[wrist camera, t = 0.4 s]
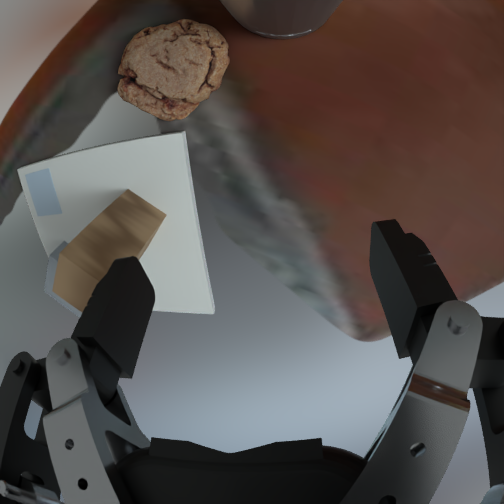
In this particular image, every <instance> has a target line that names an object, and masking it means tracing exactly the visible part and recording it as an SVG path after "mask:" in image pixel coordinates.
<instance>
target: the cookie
mask: <svg viewBox="0 0 504 504" xmlns="http://www.w3.org/2000/svg"><path fill="white" fill-rule="evenodd" d="M227 53H228V43H227V42H226V40H225V38H224V37H223V36H222V35H221V34H220V33H219V32H218V31H217V30H216V29H215V28H214V27H212V26H210V25H208V24H202V23H198V22H195V21H193V20H189V19H181V20H178V21H176V22H173V23H170V24H167V25H165V24H162V25H159V26H157V27H148V28H145V29H143V30H141V31H140V32H139V33H137V34H136V35H135V36H134V37H133V38H132V40H131V41H130V42H129V43H128V45H127V46H126V48H125V50H124V54H123V56H122V60H121V64H120V66H119V69H118V74H121V75H123V76H124V78H122V79H120V82H119V85H118V94H119V95H120V97H121V98H122V99H123V100H124V101H126V102H129V103H131V104H133V105H135V106H136V107H138V108H139V109H141V110H143V111H145V112H147V113H150V114H153V115H154V116H155V117H158V118H159V119H162V120H166V121H173V120H175V119H179V120H180V119H183V118H185V117H187V116H188V115H189V114H190V113H191V112H192V111H193V110H194V109H195V108H196V107H197V106H198V105H199V102H201V101H203V100H205V99H208V98H209V95H210V94H211V93H212V92H213V91H215V90H217V89H218V88H219V87H220V85H221V83H222V77H223V75H224V72H225V70H226V68H227V66H228V64H229V63H230V59H229V56H228V54H227Z"/></svg>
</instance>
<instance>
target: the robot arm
mask: <svg viewBox="0 0 504 504" xmlns="http://www.w3.org/2000/svg"><path fill="white" fill-rule="evenodd" d="M219 1H220V2H221V3H222V4H223V5H224V6H225V8H226V9H227V10H228V11H229V12H230V14H231V15H232V16H233V17H234V18H235V19H236V20H237V21H238V22H239V23H240V24H241V25H242V26H243V27H245V28H246V29H248V30H249V31H251V32H253V33H255V34H258V35H260V36H264V37H268V38H272V39H292V38H298V37H301V36H305V35H307V34H309V33H311V32H313V31H316V30H317V29H318V28H319V27H321V26H322V25H323V24H324V23H325V22H326V20H327V19H328V18H329V17H330V15H331V14H332V13H333V12H334V11H335V10H336V8H337V7H338V6H339V4H340V3H341V2H342V1H343V0H219ZM369 261H370V271H371V276H372V279H373V282H374V284H375V287H376V290H377V293H378V295H379V298H380V301H381V304H382V307H383V310H384V312H385V315H386V318H387V321H388V324H389V328H390V331H391V334H392V337H393V340H394V343H395V346H396V350H397V353H398V356H399V359H401V358H405V357H409V356H410V357H411V360H412V363H413V366H412V368H411V370H410V372H409V375H408V377H407V379H406V382H405V384H404V386H403V388H402V390H401V392H400V394H399V397H398V399H397V401H396V402H395V404H394V406H393V408H392V411H391V413H390V414H389V416H388V418H387V420H386V422H385V424H384V425H383V427H382V428H381V430H380V432H379V433H378V435H377V437H376V438H375V440H374V442H373V443H372V445H371V447H370V449H369V450H368V452H367V453H366V455H365V457H364V458H362V457H361V456H359V455H357V454H354V453H352V452H350V451H347V450H344V449H341V448H336V447H331V446H323V445H322V439H321V438H316V439H307V440H297V441H284V442H274V443H271V444H267V445H264V446H260V447H256V448H252V449H248V450H244V451H240V452H235V453H225V452H221V451H218V450H215V449H211V448H208V447H205V446H201V445H198V444H195V443H192V442H189V441H181V440H170V439H161V438H154V437H152V438H151V442H150V441H149V439H148V438H147V437H146V436H145V435H144V434H143V433H142V432H141V430H140V429H139V427H138V425H137V423H136V421H135V419H134V416H133V414H132V412H131V410H130V407H129V405H128V403H127V400H126V398H125V396H124V393H123V391H122V389H121V387H120V386H119V385H118V380H119V378H132V376H133V373H134V369H135V366H136V362H137V359H138V355H139V351H140V348H141V345H142V342H143V338H144V335H145V332H146V328H147V325H148V322H149V319H150V316H151V313H152V310H153V307H154V304H155V291H154V288H153V285H152V284H151V282H150V280H149V278H148V276H147V274H146V273H145V271H144V269H143V267H142V265H141V263H140V261H139V260H138V258H137V257H135V256H130V257H124V258H118V259H115V260H114V261H113V263H112V265H111V266H110V268H109V270H108V272H107V274H106V275H105V276H104V277H103V278H102V279H101V280H100V281H99V282H98V283H97V285H96V287H95V289H94V291H93V292H92V294H91V297H90V298H89V300H88V302H87V306H85V308H84V310H83V312H82V315H81V317H80V319H79V321H78V323H77V325H76V327H75V330H74V332H73V334H72V336H71V338H66V339H62V340H60V341H59V342H57V343H56V344H55V345H54V346H53V347H52V348H51V350H50V351H49V353H48V355H47V357H46V358H43V359H39V360H35V359H34V358H33V357H32V356H31V355H30V354H29V353H28V352H20V353H18V354H17V355H16V356H15V357H14V358H13V359H12V361H11V362H10V364H9V366H8V368H7V371H6V373H5V376H4V379H3V381H2V384H1V387H0V504H429V502H430V501H431V499H432V497H433V495H434V493H435V491H436V490H437V488H438V486H439V484H440V482H441V480H442V478H443V476H444V474H445V472H446V470H447V467H448V465H449V463H450V461H451V459H452V456H453V454H454V451H455V449H456V446H457V444H458V441H459V439H460V437H461V434H462V431H463V429H464V426H465V423H466V420H467V417H468V414H469V410H470V401H469V400H467V393H468V389H469V388H473V392H474V396H475V400H476V404H477V408H478V412H479V417H480V421H481V425H482V431H483V436H484V442H485V448H486V454H487V461H488V469H489V478H490V490H489V491H488V492H487V493H486V495H485V496H484V498H483V500H482V502H481V503H480V504H504V318H495V317H482V316H480V315H479V313H478V312H477V310H476V309H475V308H474V307H472V306H471V305H469V304H468V303H466V302H463V301H458V299H457V297H456V296H455V294H454V292H453V290H452V288H451V286H450V285H449V283H448V281H447V279H446V278H445V276H444V274H443V272H442V271H441V269H440V267H439V266H438V265H437V264H436V261H435V259H434V257H433V256H432V255H431V253H430V251H429V249H428V248H427V246H426V245H425V243H424V242H423V241H422V240H421V239H419V238H418V237H417V236H415V235H414V234H413V233H407V234H405V233H404V231H403V230H402V228H401V227H400V225H399V223H398V222H397V221H396V220H395V219H393V220H385V221H377V222H373V223H372V228H371V245H370V260H369ZM31 400H32V401H34V402H35V403H36V404H38V405H39V406H41V407H42V408H43V411H42V414H41V418H40V421H39V425H38V429H37V433H36V437H35V439H34V440H33V439H31V438H29V437H28V436H27V435H26V433H25V431H24V422H25V419H26V416H27V412H28V409H29V405H30V402H31ZM21 474H22V475H21ZM60 493H62V496H63V498H64V501H65V503H63V502H60Z"/></svg>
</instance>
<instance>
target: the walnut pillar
mask: <svg viewBox="0 0 504 504" xmlns="http://www.w3.org/2000/svg"><path fill="white" fill-rule="evenodd" d="M165 217H166V214H165V213H163V212H162V211H160V210H159V209H157V208H156V207H154V206H153V205H151V204H150V203H148V202H147V201H145V200H144V199H142V198H141V197H139V196H138V195H137V194H135V193H134V192H132V191H131V190H129V189H127V190H126V191H125V192H124V193H123V194H121V195H120V196H119V197H118V198H117V199H116V200H115V201H113V202H112V203H111V204H110V205H109V206H108V207H107V208H106V209H104V210H103V211H102V212H101V213H100V214H99V215H98V216H97V217H96V218H95V219H94V220H93V221H91V222H90V223H89V224H88V225H87V226H86V227H85V228H84V229H83V230H82V231H81V232H80V233H79V234H78V235H77V236H76V237H75V238H74V239H73V240H72V241H71V242H70V243H69V244H68V245H67V246H66V247H65V248H64V249H63V250H62V251H61V252H60V254H59V258H58V263H57V268H56V273H55V278H54V284H53V290H52V291H53V292H54V293H55V294H57V295H58V296H59V297H61V298H62V299H64V300H65V301H66V302H68V303H69V304H71V305H72V306H73V307H75V308H76V309H78V310H79V311H81V312H83V310H84V308H85V306H87V302H88V300H89V298H90V297H91V294H92V292H93V291H94V289H95V287H96V285H97V283H98V282H99V281H100V280H101V279H102V278H103V277H104V276H105V275H106V274H107V272H108V270H109V268H110V266H111V265H112V263H113V261H114V260H115V259H118V258H124V257H130V256H135V257H137V258H138V260H139V259H140V258H141V256H142V255H143V254H144V252H145V251H146V249H147V248H148V246H149V244H150V243H151V241H152V239H153V237H154V236H155V234H156V232H157V231H158V229H159V227H160V225H161V224H162V222H163V220H164V219H165Z"/></svg>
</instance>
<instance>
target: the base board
mask: <svg viewBox="0 0 504 504" xmlns="http://www.w3.org/2000/svg"><path fill="white" fill-rule="evenodd" d="M17 170H18V174H19V178H20V181H21V185H22V188H23V191H24V194H25V198H26V200H27V204H28V207H29V209H30V213H31V215H32V218H33V221H34V224H35V226H36V229H37V231H38V234H39V237H40V239H41V242H42V244H43V247H44V249H45V251H46V254H47V256H48V258H49V261H48V267H47V273H46V280H45V288H44V292H45V293H47V294H48V295H49V296H51V297H52V298H53V299H55V300H56V301H58V302H59V303H60V304H61V305H63V306H64V307H66V308H67V309H68V310H70V311H71V312H73V313H74V314H75V315H77V316H79V317H81V315H82V312H81V311H79V310H78V309H76V308H75V307H73V306H72V305H71V304H69V303H68V302H66V301H65V300H64V299H62V298H61V297H59V296H58V295H57V294H55V293H54V292H53V291H52V290H53V284H54V278H55V273H56V268H57V263H58V258H59V254H60V252H61V251H62V250H63V249H64V248H65V247H66V246H67V245H68V244H69V243H70V242H71V241H72V240H73V239H74V238H75V237H76V236H77V235H78V234H79V233H80V232H81V231H82V230H83V229H84V228H85V227H86V226H87V225H88V224H89V223H90V222H91V221H93V220H94V219H95V218H96V217H97V216H98V215H99V214H100V213H101V212H102V211H103V210H104V209H106V208H107V207H108V206H109V205H110V204H111V203H112V202H113V201H115V200H116V199H117V198H118V197H119V196H120V195H121V194H123V193H124V192H125V191H126V190H127V189H129V190H131V191H132V192H134V193H135V194H137V195H138V196H139V197H141V198H142V199H144V200H145V201H147V202H148V203H150V204H151V205H153V206H154V207H156V208H157V209H159V210H160V211H162V212H163V213H165V214H166V217H165V219H164V220H163V222H162V224H161V225H160V227H159V229H158V231H157V232H156V234H155V236H154V237H153V239H152V241H151V243H150V244H149V246H148V248H147V249H146V251H145V252H144V254H143V255H142V256H141V258H140V259H139V261H140V263H141V265H142V267H143V269H144V271H145V273H146V274H147V276H148V278H149V280H150V282H151V284H152V285H153V288H154V291H155V304H154V307H153V310H152V311H166V312H182V313H200V314H214V312H215V305H214V300H213V295H212V290H211V285H210V280H209V275H208V269H207V264H206V259H205V253H204V248H203V242H202V237H201V231H200V226H199V219H198V214H197V207H196V201H195V195H194V189H193V182H192V176H191V169H190V162H189V155H188V148H187V141H186V133H185V131H180V132H173V133H165V134H159V135H152V136H146V137H141V138H135V139H130V140H124V141H119V142H114V143H109V144H104V145H100V146H95V147H91V148H86V149H82V150H79V151H74V152H71V153H67V154H63V155H59V156H56V157H52V158H49V159H45V160H42V161H39V162H35V163H32V164H29V165H26V166H23V167H21V168H19V169H17Z"/></svg>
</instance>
